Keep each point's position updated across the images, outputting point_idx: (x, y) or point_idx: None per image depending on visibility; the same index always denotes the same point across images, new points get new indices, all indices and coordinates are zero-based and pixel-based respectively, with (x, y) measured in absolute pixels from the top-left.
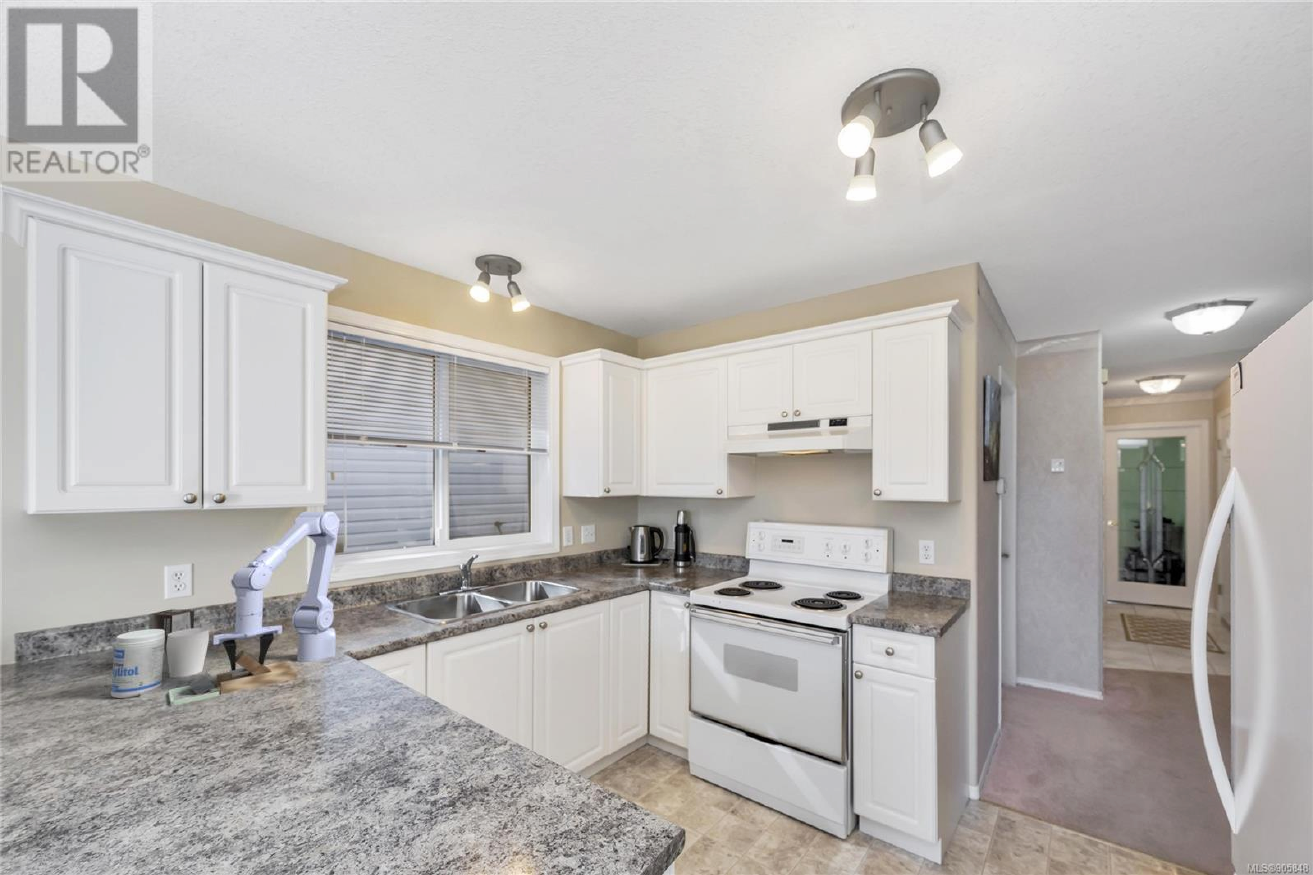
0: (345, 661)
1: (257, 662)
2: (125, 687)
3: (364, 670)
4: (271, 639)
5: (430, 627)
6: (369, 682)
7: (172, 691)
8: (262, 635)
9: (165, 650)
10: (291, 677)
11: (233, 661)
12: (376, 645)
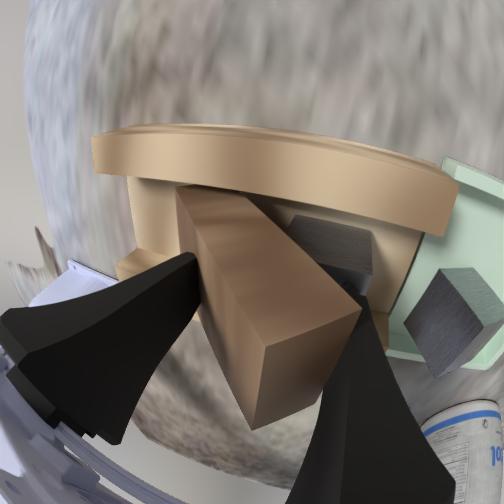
0: (54, 228)
1: (203, 252)
2: (499, 422)
3: (28, 112)
4: (3, 317)
5: (16, 285)
6: (41, 7)
7: (484, 359)
8: (61, 427)
9: None
10: (131, 128)
11: (366, 340)
12: (40, 277)
